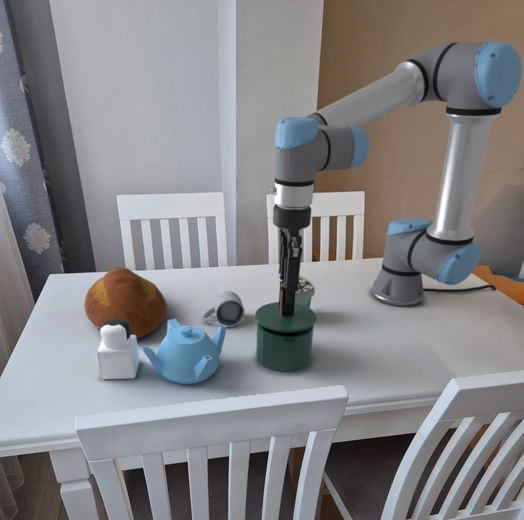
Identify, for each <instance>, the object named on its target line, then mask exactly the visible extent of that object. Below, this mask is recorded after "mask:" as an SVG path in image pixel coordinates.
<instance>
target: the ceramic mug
mask: <svg viewBox="0 0 524 520" xmlns="http://www.w3.org/2000/svg"><path fill="white" fill-rule="evenodd" d="M245 313H246V311H245V307H244V304H243V301H242V299H241V297H240V296H239V295H238V294H237V293H236V292H235V291H231V290H225V291H223V292H221V293H219V294H218V295H217V297H216V299H215V302H214V306H213V307H212V308H210V309H208V310H207V311H205V313H204V314H203V317H202V318H203V321H204V322H205V323H206V324H212V323H216V322H218V323H219V324H220V326H221V325H225V326H227V328H232V327H236V326H238V325H240V324H241V323H242V322H243V320H244V318H245ZM212 315H214V316H212Z"/></svg>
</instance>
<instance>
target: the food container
mask: <svg viewBox="0 0 524 520" xmlns="http://www.w3.org/2000/svg"><path fill="white" fill-rule="evenodd" d="M315 294H316V290H315V285H314V282H313V281H311V279H309V278H307V277H304V276H300V275H299V283H298V291H295V303H297V304H301V305H304V306H306V307H308V308H310V309H311V303H312V297H314V296H315Z"/></svg>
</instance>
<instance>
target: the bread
mask: <svg viewBox="0 0 524 520" xmlns="http://www.w3.org/2000/svg"><path fill="white" fill-rule="evenodd" d="M83 308H84V311H85V315H86V317H87V318H88V320H89V321H90V322H91V323H92V324H93V325H94V326H96V327H97V328H99V329H100V325H101V324H102V323H103V322H105V321H107V320H110V319H123V320H125V321H127V322H128V323H129V327H130V335H136V339H137V340H138V339H140V338H143V337H145V336H146V335H148V334H151V333H152V332H153V331H154V330H155V329H157V328H158V327H159V326H160V325H161V324H162V323H163V320H164V319H165V318H166V315H167V310H168V307H167V303H166V299H165V297H164V295H163V294H162V292H161V291H160V289H159V288H158V287H157V285H156V284H155V283H153V282H152V281H150V280H148V279H146V278H144V277H143V276H140V275H139V274H137V273H135V272H134V271H132V270H131V269H129V268H126V267H120V266H117V267H114V268H113V267H112V268H111V269H110V270H108V271H107V272H106V273H105V274H104V276H103V277H101V278H99V279H98V280H96V282H94V283H93V284H92V285H91V287H89V289H87V292H86V295H85V298H84V304H83Z"/></svg>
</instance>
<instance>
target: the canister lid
mask: <svg viewBox="0 0 524 520" xmlns="http://www.w3.org/2000/svg"><path fill="white" fill-rule="evenodd" d="M282 286H284V282H282V283H281V287H282ZM281 306H282V290H281V297H280V309H279V301H276V302H270V303H266V304H263V305H261V306H260V307H258V308H257V309H256V311H255V320H256V323H257V322H258V323H259V324H260V325H261V326H263V327H265V328H267V329H270V330H274V331H279V332H298V331H303V330H306V329H308V328H310V327H312V326H313V325H314V326H315V324H316V322H317V314H316V312H315V311H314V310H312V308H311V307H310V308H308V307H306V306H304V305H301V304H297V303H295V305H294V316H281Z"/></svg>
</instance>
